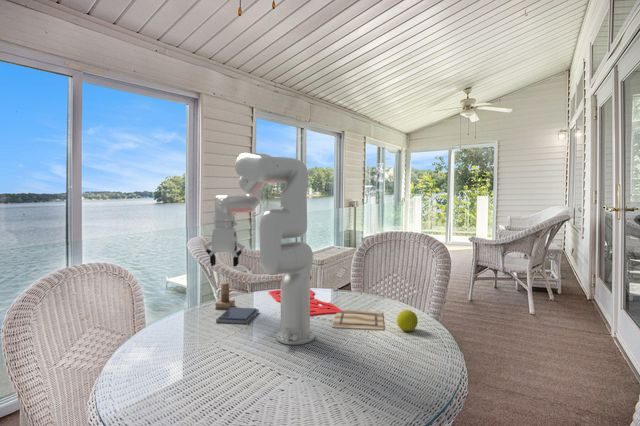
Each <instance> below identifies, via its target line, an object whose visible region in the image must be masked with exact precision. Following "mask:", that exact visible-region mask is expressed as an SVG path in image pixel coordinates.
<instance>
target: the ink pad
mask: <svg viewBox="0 0 640 426" xmlns="http://www.w3.org/2000/svg"><path fill="white" fill-rule="evenodd" d="M258 312H260V309H259V308H254V307H235V306H234V307H231V308H230V309H228V310H226V311H224V312H223V313H222V314H221V315H220V316H219V317H217V318H215V323H216V322H221V323H220V324H236V323H239V324H240V325H241V324H242V323H243V324H242V325H249V323H250V322H251V321H252V320H253V319H254V318H255V317H256V316H257V315H258V314H259V313H258ZM257 313H258V314H257ZM256 314H257V315H256ZM255 315H256V316H255ZM254 316H255V317H254ZM253 317H254V318H253Z"/></svg>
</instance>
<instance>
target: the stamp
mask: <svg viewBox="0 0 640 426" xmlns="http://www.w3.org/2000/svg"><path fill="white" fill-rule="evenodd" d="M220 291H221V293H220V300H217V302H215V310H225V309H230V308H231V307H233V306H234V305H235V304H236V301H235V299H230V282H229V283H228V282H222V283H221V284H220ZM235 306H236V305H235ZM235 306H234V307H235Z"/></svg>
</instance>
